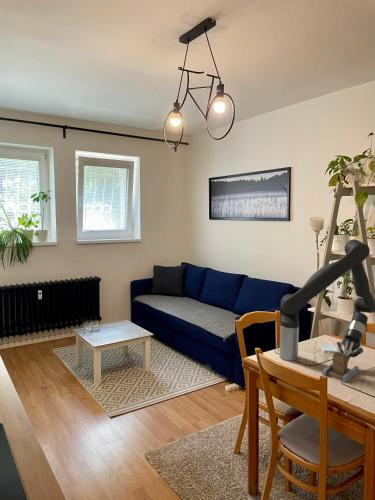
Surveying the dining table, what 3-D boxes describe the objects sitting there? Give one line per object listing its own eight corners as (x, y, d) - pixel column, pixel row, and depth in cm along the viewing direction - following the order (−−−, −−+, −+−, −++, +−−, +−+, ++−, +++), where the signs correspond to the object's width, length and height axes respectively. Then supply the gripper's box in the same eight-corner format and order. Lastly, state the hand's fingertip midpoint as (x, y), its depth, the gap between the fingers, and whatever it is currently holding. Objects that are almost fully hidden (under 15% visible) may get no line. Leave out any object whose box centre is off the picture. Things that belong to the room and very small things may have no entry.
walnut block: (336, 370, 178) (337, 351, 177) (348, 373, 173) (349, 354, 173) (328, 375, 171) (329, 356, 170) (341, 380, 167) (342, 359, 166)
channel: (336, 365, 183) (336, 360, 183) (358, 371, 176) (358, 366, 176) (322, 375, 172) (322, 370, 171) (344, 382, 164) (345, 377, 164)
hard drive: (318, 342, 212) (323, 350, 200) (333, 343, 211) (339, 351, 199) (318, 345, 212) (323, 353, 200) (333, 346, 211) (339, 354, 199)
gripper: (340, 325, 186) (328, 355, 179) (367, 331, 177) (356, 363, 169) (343, 333, 190) (332, 362, 183) (370, 339, 181) (360, 370, 174)
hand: (344, 362), depth 176 cm, fingers closed
